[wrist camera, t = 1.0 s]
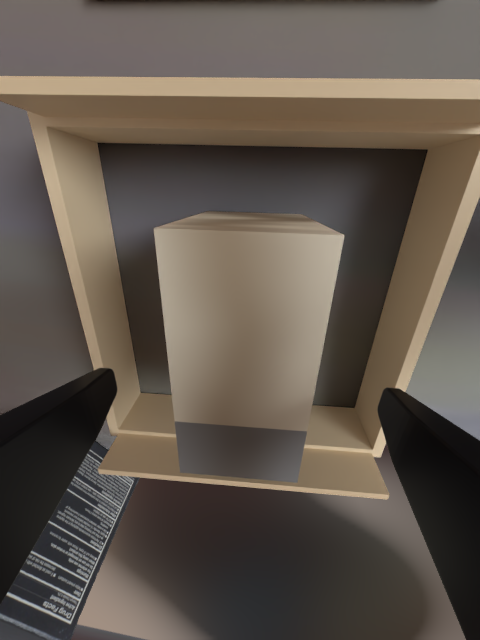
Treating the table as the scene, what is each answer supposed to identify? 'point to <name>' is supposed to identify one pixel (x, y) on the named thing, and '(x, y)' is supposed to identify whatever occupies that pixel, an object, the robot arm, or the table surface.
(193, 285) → the block
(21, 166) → the table surface
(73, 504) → the small box
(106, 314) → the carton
